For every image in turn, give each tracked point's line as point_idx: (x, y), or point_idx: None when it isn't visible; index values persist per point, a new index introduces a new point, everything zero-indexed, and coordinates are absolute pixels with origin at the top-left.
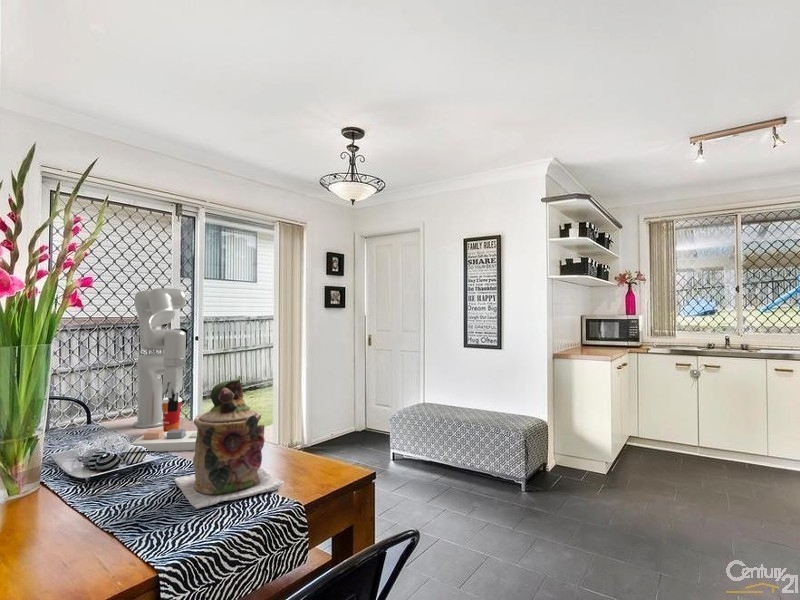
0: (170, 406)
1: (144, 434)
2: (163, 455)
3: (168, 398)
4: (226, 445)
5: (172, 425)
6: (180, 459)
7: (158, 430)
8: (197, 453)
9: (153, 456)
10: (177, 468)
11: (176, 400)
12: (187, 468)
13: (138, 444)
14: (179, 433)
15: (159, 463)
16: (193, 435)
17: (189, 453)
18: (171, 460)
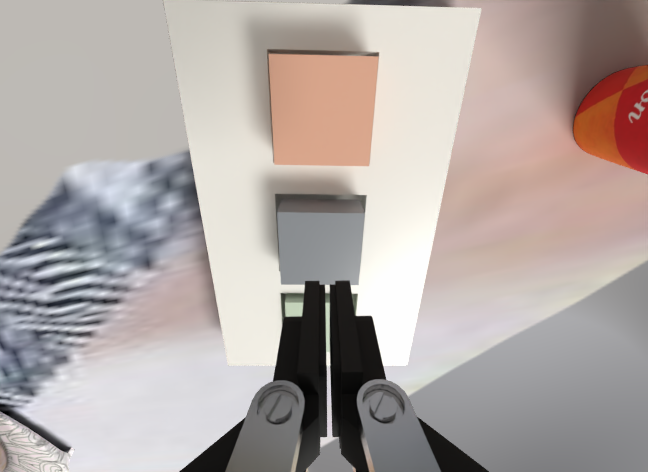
0: (280, 346)
1: (269, 60)
2: (152, 212)
3: (243, 438)
4: None
5: (609, 140)
6: (110, 287)
7: (349, 138)
8: None
9: (132, 174)
10: (11, 303)
11: (339, 438)
12: (22, 329)
13: (175, 61)
14: (281, 271)
15: (45, 230)
16: (300, 314)
17: (187, 298)
18: (92, 261)
